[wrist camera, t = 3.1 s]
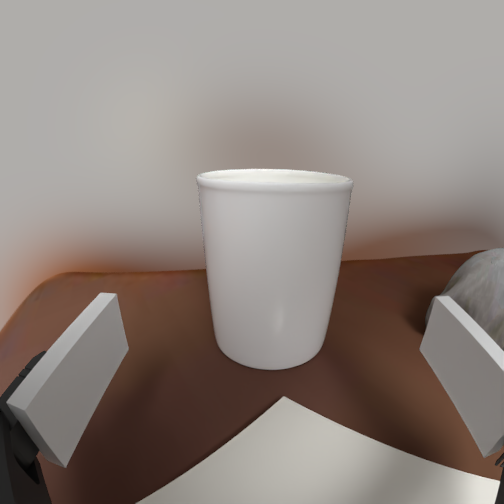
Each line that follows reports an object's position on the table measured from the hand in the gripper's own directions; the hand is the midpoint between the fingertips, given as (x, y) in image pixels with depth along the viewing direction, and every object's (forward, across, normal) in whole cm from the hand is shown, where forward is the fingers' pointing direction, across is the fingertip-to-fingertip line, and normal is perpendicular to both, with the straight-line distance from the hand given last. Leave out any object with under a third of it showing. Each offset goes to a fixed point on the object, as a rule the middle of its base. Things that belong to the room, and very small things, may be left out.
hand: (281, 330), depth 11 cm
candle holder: (+10, 0, -7) cm, 12 cm away
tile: (-9, +2, -7) cm, 11 cm away
